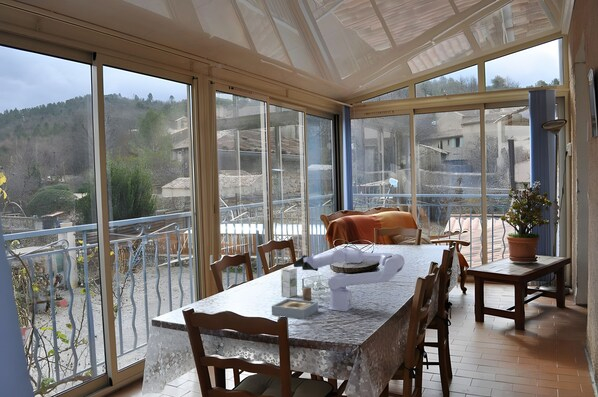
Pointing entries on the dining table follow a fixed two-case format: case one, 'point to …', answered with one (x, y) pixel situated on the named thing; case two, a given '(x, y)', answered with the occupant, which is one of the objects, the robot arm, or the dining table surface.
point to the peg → (307, 294)
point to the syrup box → (289, 281)
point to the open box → (294, 309)
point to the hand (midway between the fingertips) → (298, 266)
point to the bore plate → (296, 305)
